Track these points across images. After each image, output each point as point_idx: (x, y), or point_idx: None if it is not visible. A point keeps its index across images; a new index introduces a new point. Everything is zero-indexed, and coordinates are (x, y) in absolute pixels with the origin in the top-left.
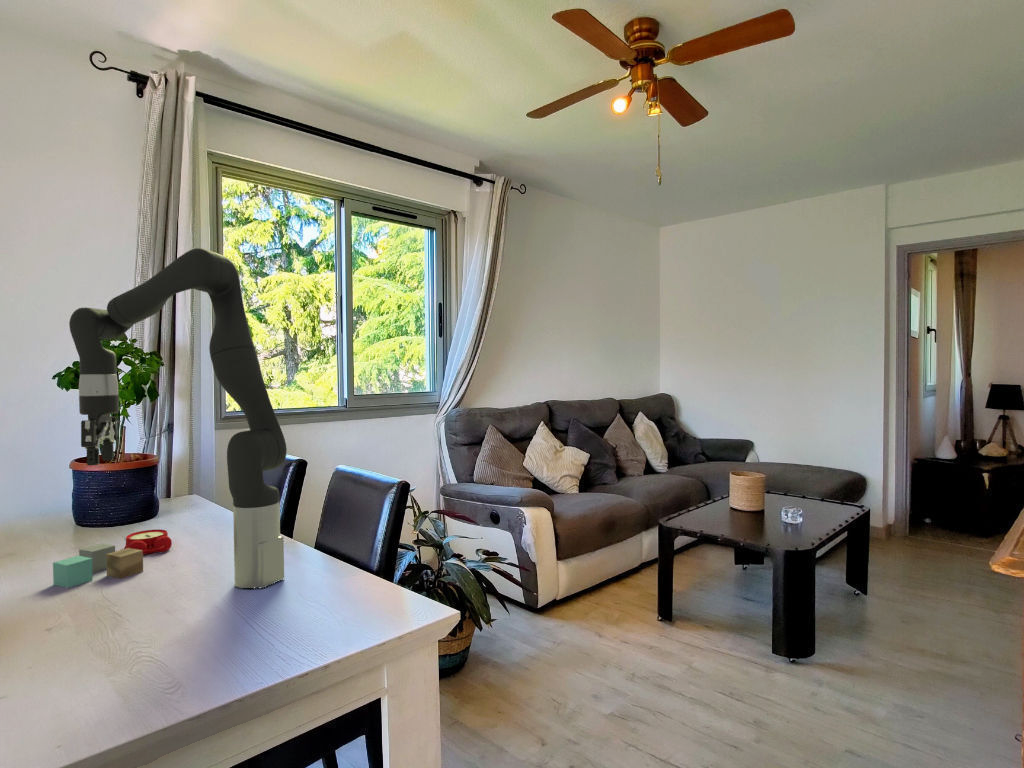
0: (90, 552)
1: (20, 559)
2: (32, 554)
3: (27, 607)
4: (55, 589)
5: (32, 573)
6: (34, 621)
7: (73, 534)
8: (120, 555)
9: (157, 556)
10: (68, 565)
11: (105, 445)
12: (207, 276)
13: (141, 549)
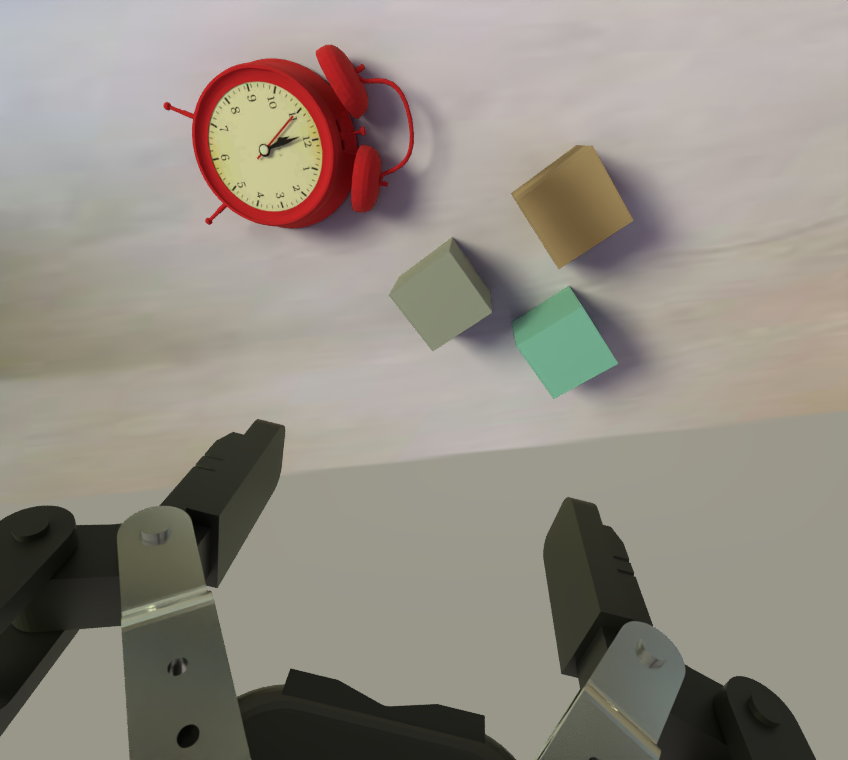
0: (483, 317)
1: None
2: None
3: (700, 398)
4: None
5: (403, 422)
6: (832, 373)
7: (24, 379)
8: (612, 222)
9: None
10: (615, 359)
11: (220, 560)
12: None
13: (380, 163)
